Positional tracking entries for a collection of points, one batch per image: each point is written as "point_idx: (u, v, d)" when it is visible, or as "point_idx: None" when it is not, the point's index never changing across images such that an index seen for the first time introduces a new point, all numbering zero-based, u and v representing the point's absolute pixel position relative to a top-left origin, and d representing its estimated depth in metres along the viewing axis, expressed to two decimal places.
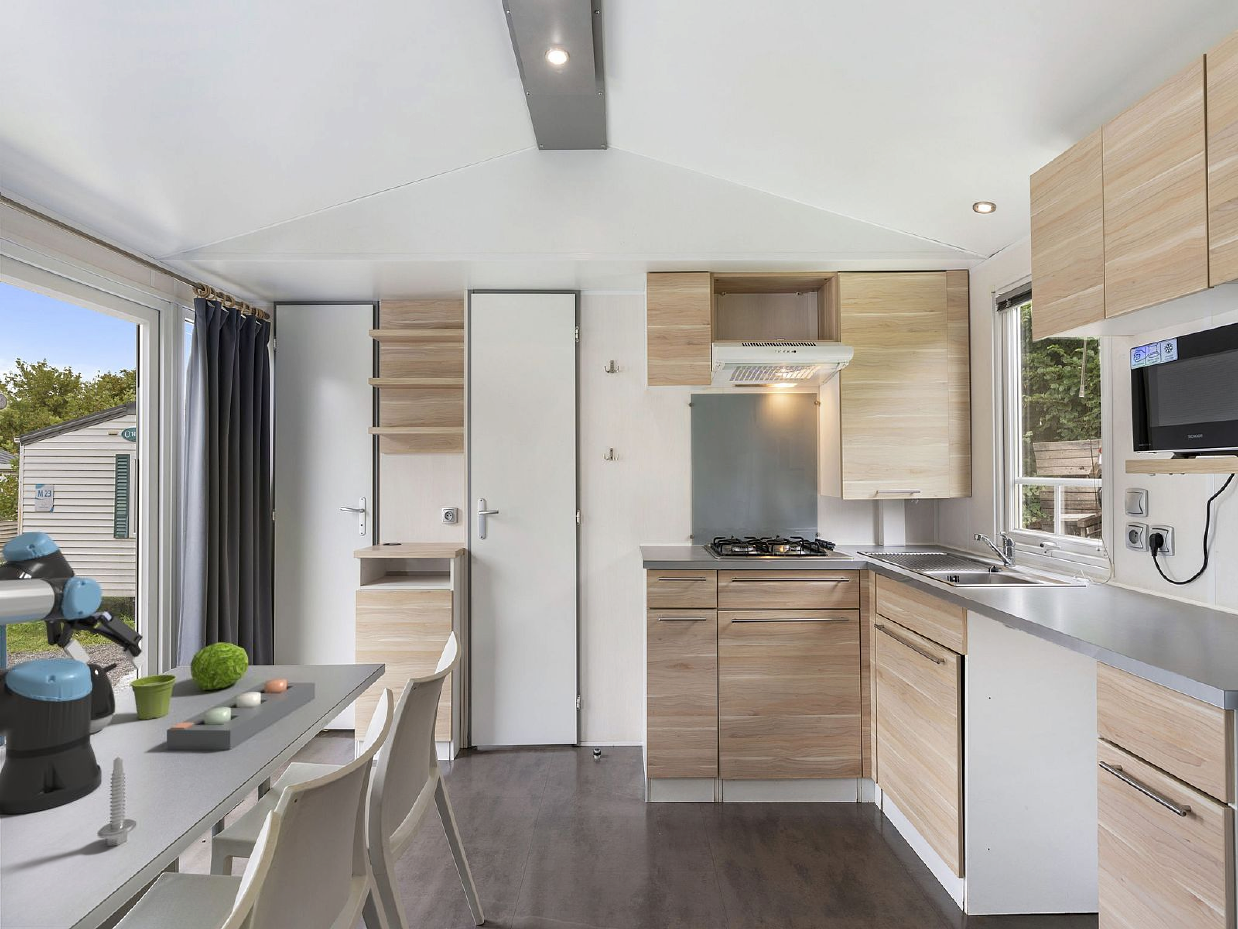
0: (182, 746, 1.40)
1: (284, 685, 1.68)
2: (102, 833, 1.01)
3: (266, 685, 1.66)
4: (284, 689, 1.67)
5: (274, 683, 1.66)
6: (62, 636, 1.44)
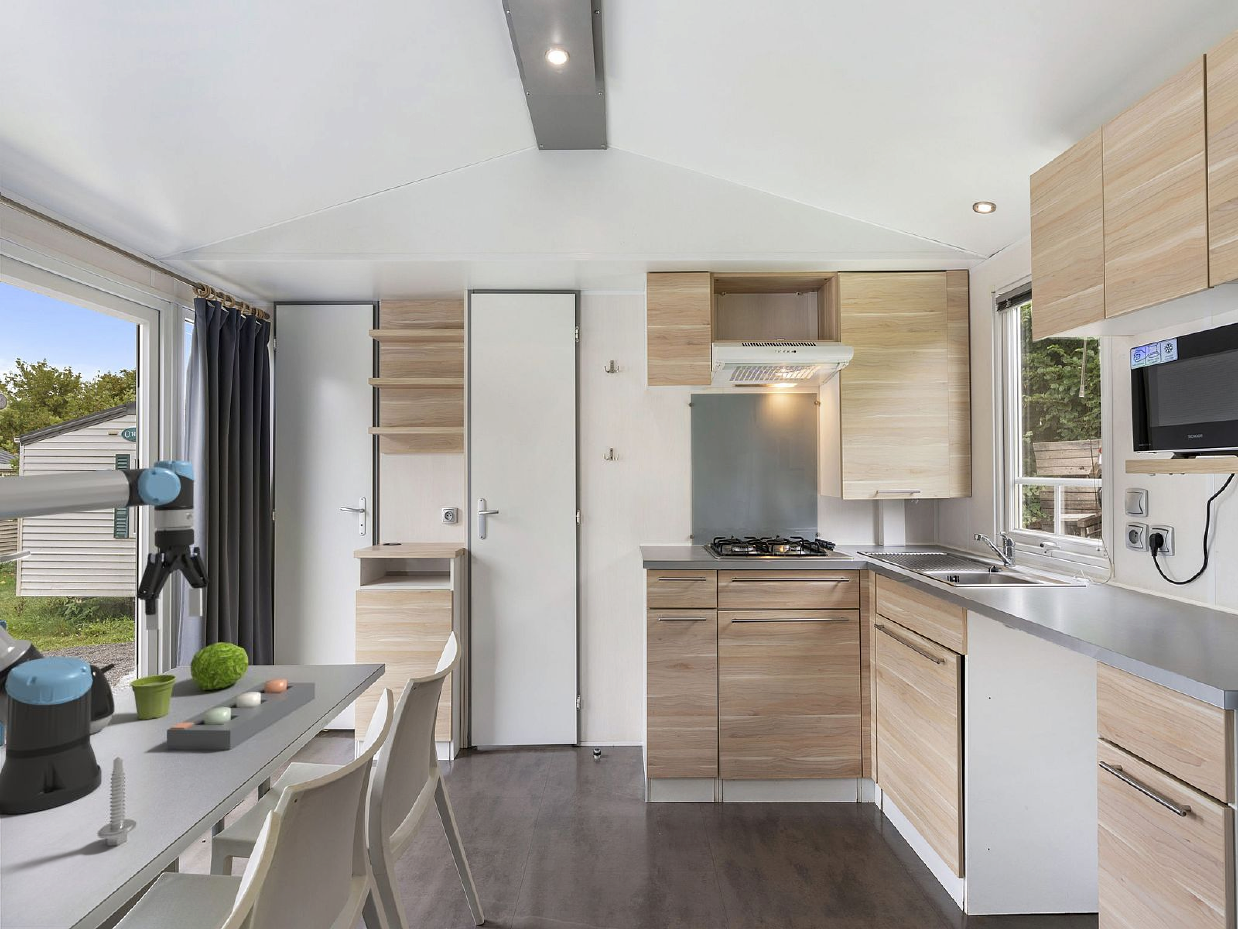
0: (182, 746, 1.40)
1: (284, 685, 1.68)
2: (102, 833, 1.01)
3: (266, 685, 1.66)
4: (284, 689, 1.67)
5: (274, 683, 1.66)
6: None
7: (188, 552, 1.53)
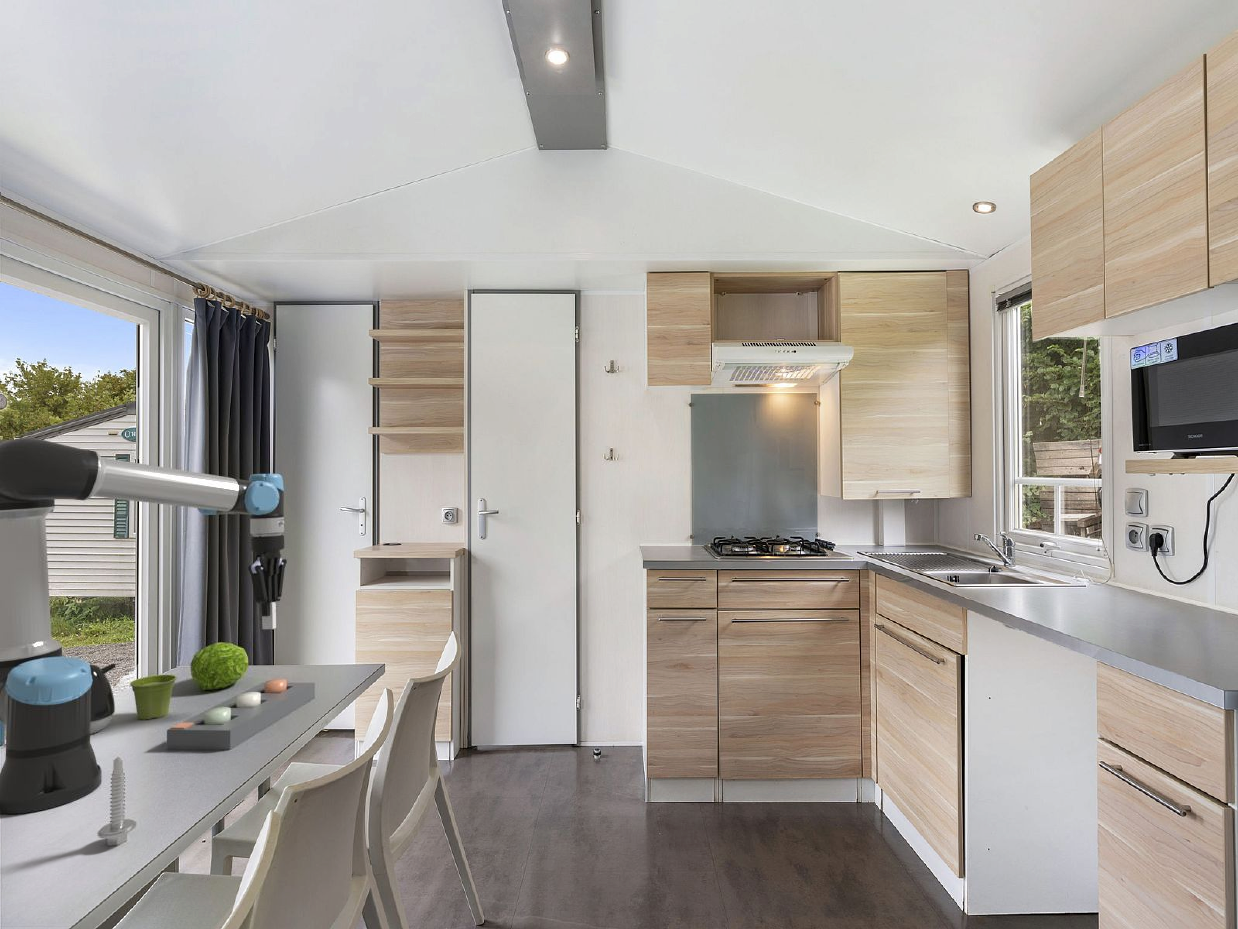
0: (182, 746, 1.40)
1: (284, 685, 1.68)
2: (102, 833, 1.01)
3: (266, 685, 1.66)
4: (284, 689, 1.67)
5: (274, 683, 1.66)
6: None
7: (279, 555, 1.70)
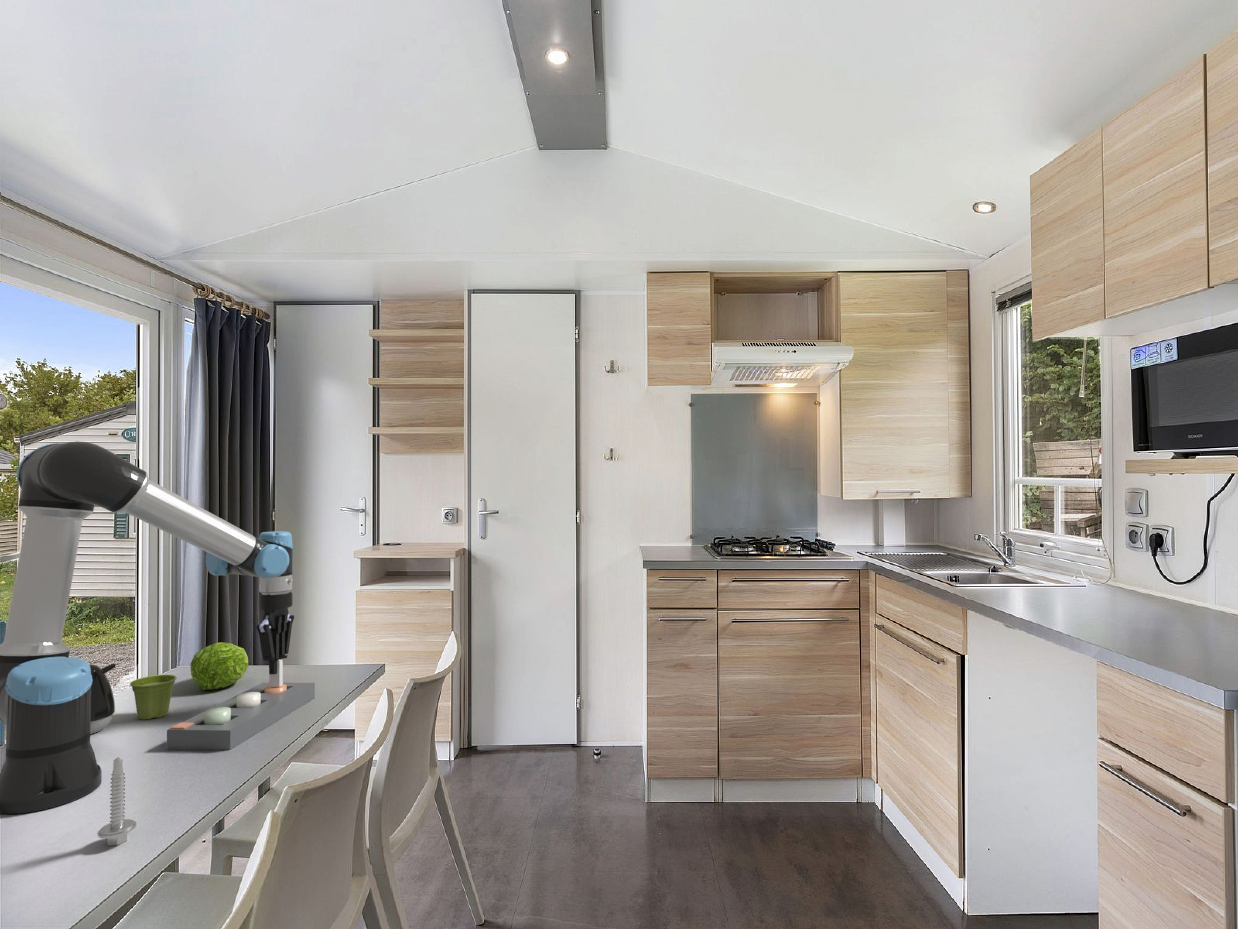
0: (182, 746, 1.40)
1: (284, 690, 1.67)
2: (102, 833, 1.01)
3: (266, 690, 1.66)
4: None
5: (274, 688, 1.66)
6: None
7: (286, 612, 1.71)
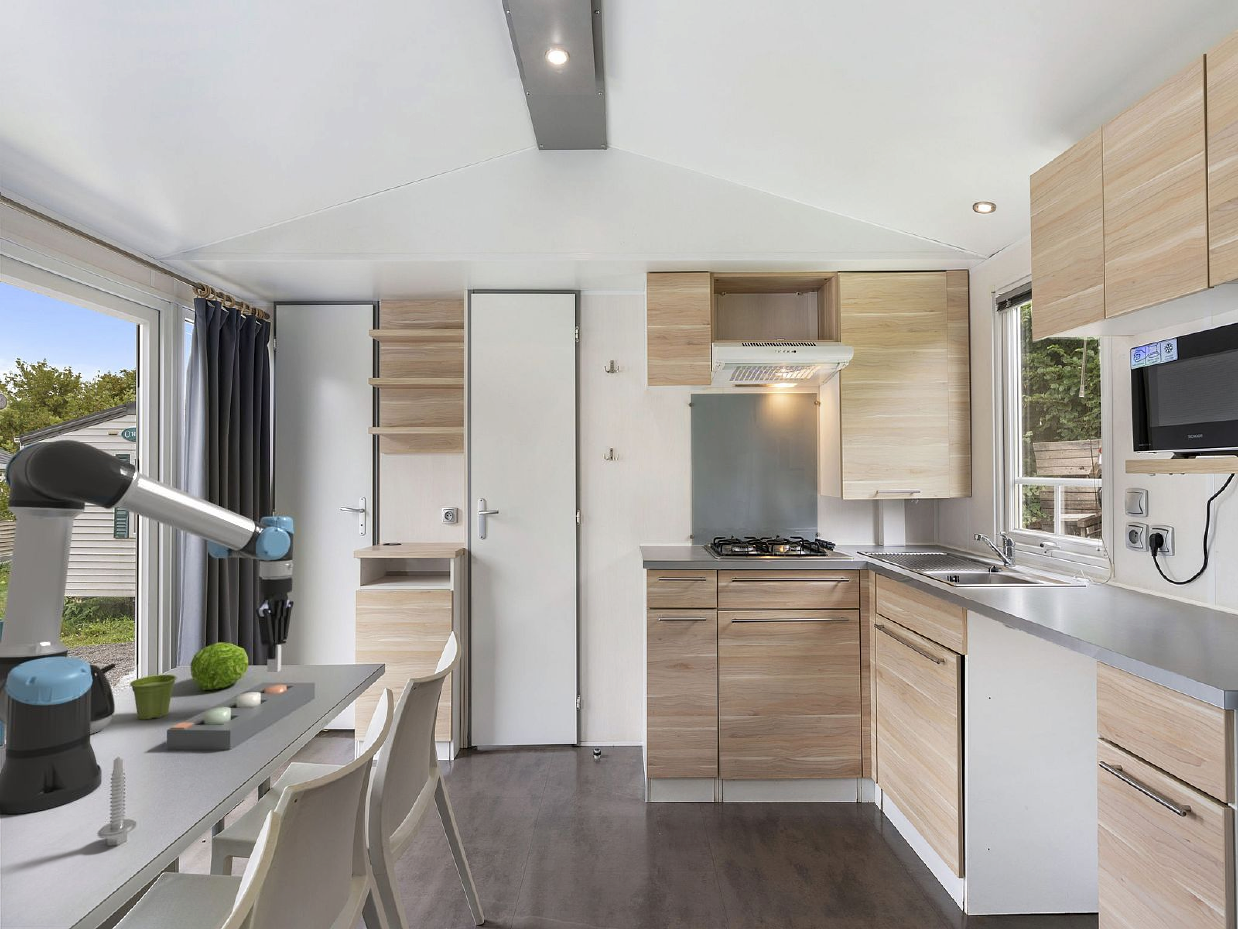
0: (182, 746, 1.40)
1: None
2: (102, 833, 1.01)
3: (266, 691, 1.66)
4: None
5: (274, 689, 1.66)
6: None
7: (286, 598, 1.71)
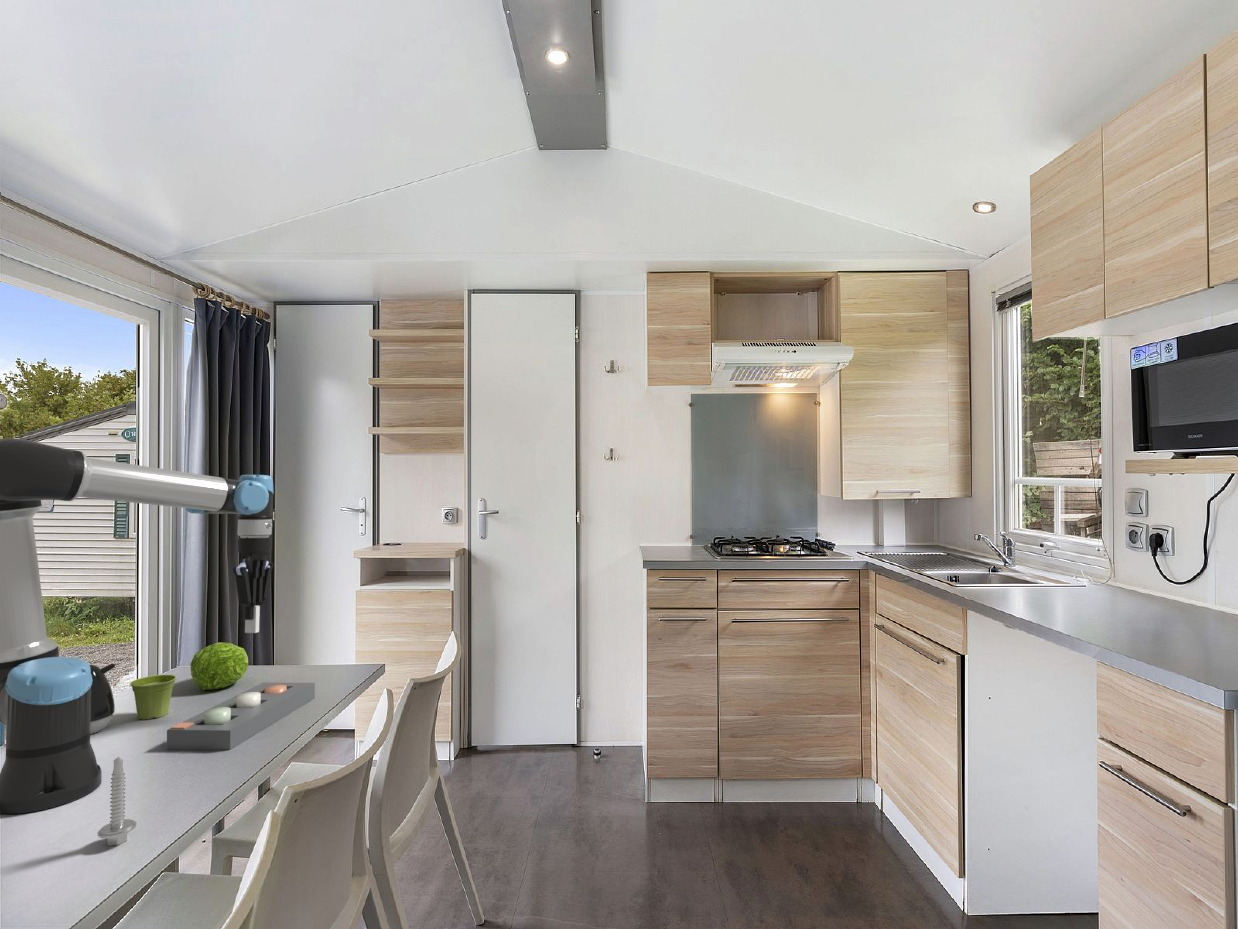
0: (182, 746, 1.40)
1: None
2: (102, 833, 1.01)
3: (266, 691, 1.66)
4: None
5: (274, 689, 1.66)
6: None
7: (265, 558, 1.68)
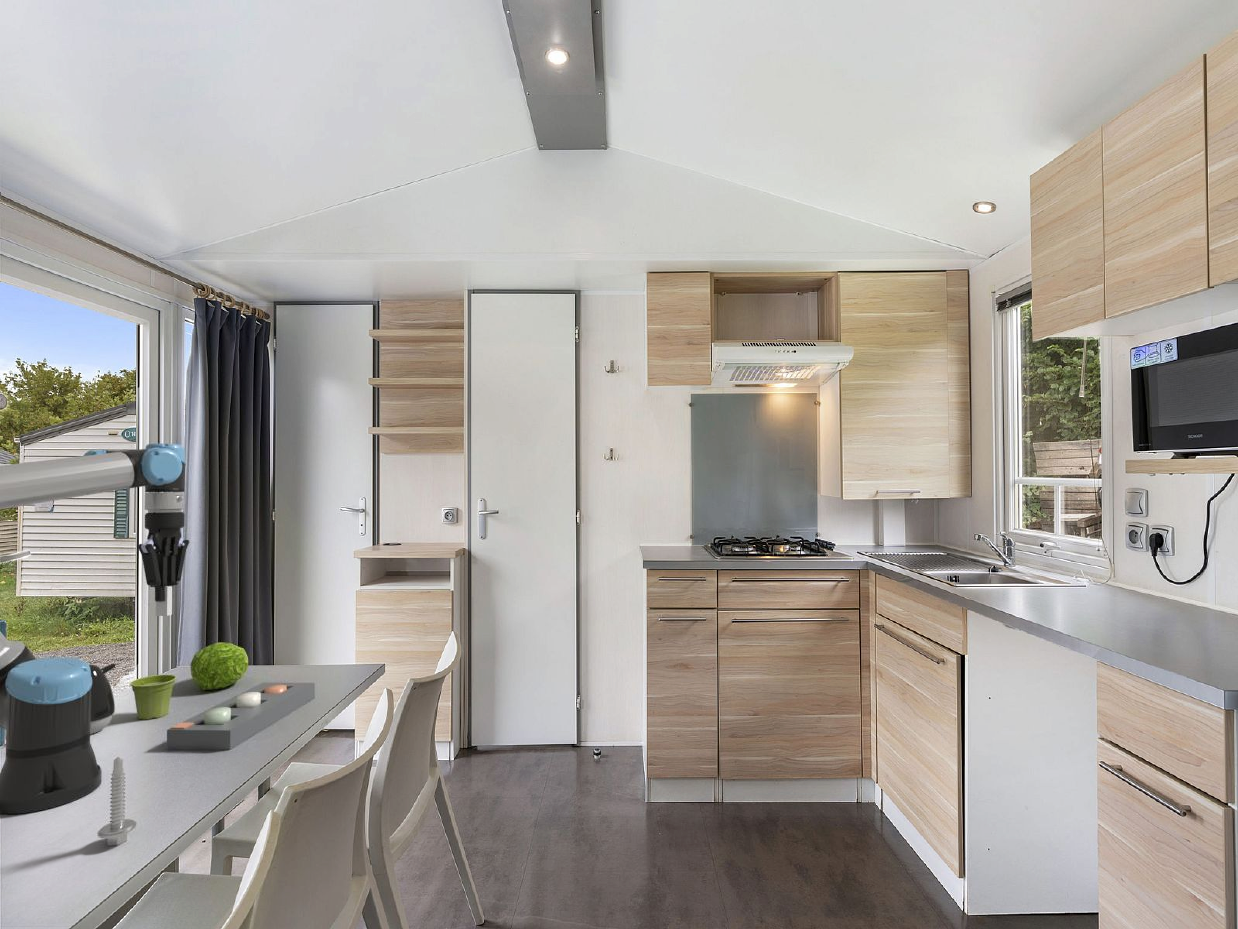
0: (182, 746, 1.40)
1: None
2: (102, 833, 1.01)
3: (266, 691, 1.66)
4: None
5: (274, 689, 1.66)
6: None
7: (178, 535, 1.54)
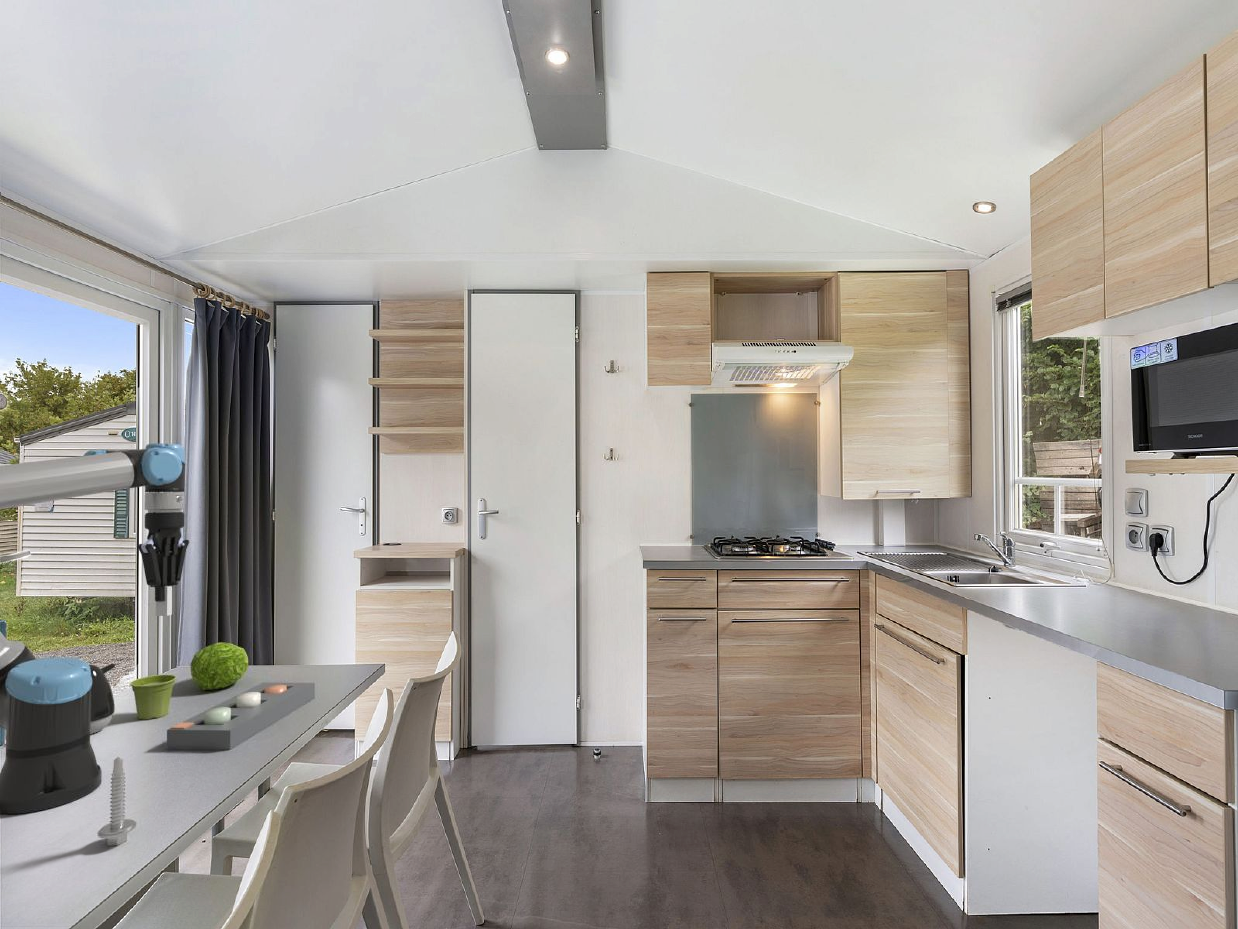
0: (182, 746, 1.40)
1: None
2: (102, 833, 1.01)
3: (266, 691, 1.66)
4: None
5: (274, 689, 1.66)
6: None
7: (178, 535, 1.54)
